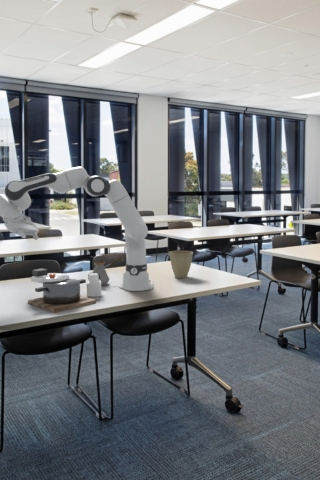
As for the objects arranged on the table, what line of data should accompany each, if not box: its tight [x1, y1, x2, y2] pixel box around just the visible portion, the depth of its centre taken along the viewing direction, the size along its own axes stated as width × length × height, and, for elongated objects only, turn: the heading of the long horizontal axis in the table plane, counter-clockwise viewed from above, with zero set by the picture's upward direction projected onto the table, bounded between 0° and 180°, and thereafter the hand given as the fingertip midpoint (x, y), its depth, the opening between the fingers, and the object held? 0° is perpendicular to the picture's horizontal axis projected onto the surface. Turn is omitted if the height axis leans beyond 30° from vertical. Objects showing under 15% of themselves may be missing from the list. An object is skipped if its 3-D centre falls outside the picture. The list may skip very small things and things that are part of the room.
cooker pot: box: [34, 278, 87, 305], centre depth 227 cm, size 18×28×9 cm, turn 136°
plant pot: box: [168, 250, 194, 279], centre depth 288 cm, size 15×15×16 cm
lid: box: [30, 268, 70, 284], centre depth 234 cm, size 22×19×3 cm
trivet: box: [27, 294, 97, 314], centre depth 228 cm, size 24×24×2 cm
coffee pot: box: [92, 256, 124, 287], centre depth 270 cm, size 21×12×15 cm, turn 120°
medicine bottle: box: [86, 271, 102, 298], centre depth 243 cm, size 7×7×12 cm
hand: (31, 238), depth 227 cm, fingers open, 8 cm apart
